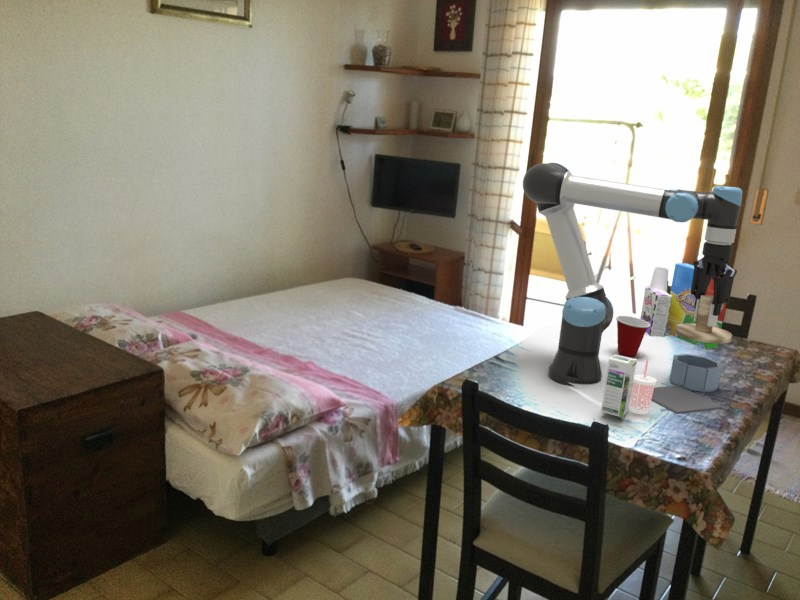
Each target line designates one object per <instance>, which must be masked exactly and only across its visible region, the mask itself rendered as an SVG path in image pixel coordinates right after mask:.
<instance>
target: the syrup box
mask: <svg viewBox="0 0 800 600" xmlns="http://www.w3.org/2000/svg"><path fill="white" fill-rule="evenodd" d="M637 363H638V359H636V358H633V357H625V356H621V355H619V354H614V355H612V356H611V357H610V358H609V359H608V363H607V370H606V376H605V377H606V378H605V384H604V390H603V397H602V404H601V409H600V412H601V413H603V414H604V413H605V414H608V415H611V416H616V417H619V418H621V419H623V418H624V417H625V415H627V413H629V411H630V399H631V393H632V387H633V381H634V375H635V374H636V367H637Z"/></svg>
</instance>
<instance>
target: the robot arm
mask: <svg viewBox="0 0 800 600" xmlns="http://www.w3.org/2000/svg"><path fill="white" fill-rule="evenodd" d="M522 188H523V191H524V194H525V196H526V198H528V199H529V200H530V201H532V202H534V203H535V204H536V206H537V207H536V208H537V210H538V213H539V214H541V215H542V216H544V217H545V219H546V221H547V226H548V229H549V232H550V235H551V239H552V241H553V245H554V249H555V250H556V253H557V257H558V261H559V265H560V267H561V270H562V274H563V276H564V279H565V283H566V287H567V289H568V292H567V294H566V296H565V299H566V300H565V302H564V304H563V305H564V306H563V308H562V313H561V314H562V317H561V322H560V323H561V324H560V330H559V331H560V332H559V339H558V347H557V351H556V352H555V356H554V358H553V360H552V362H551V363H550V365H549V366H548V368H549V369H548V376H549V378H551V379H552V380H554V381H556V382H558V383H561V384H563V385H567V386H571V387H574V385H575V384H577V385H594V384H598V383H601V381H602V377H603V374H602V370H601V363H600V358H599V355H600V349H601V341H602V335H603V333H604V332H605V330H607V329H608V327H610V325H611V324H612V321H613V318H614V307H613V304H612V302H611V300H610V299H609V298H608V297H607V294H606V292H605V288H604V286H603V285H602V284H600V283H598V282H597V281H596V277H595V275H594V270H593V268H592V264H591V261H590V258H589V255H588V251H587V248H586V245H585V242H584V238H583V235H582V231H581V228H580V225H579V222H578V219H577V216H576V212H575V210H574V206H575V205H580V206H581V205H582V206H588V207H594V208H601V209H607V210H613V211H618V212H626V213H630V214H638V215H643V216H649V217H655V218H661V219H667V220H671V221H673V222H675V223H685V222H689V221H690V220H692V219H696V220H707V223H706V224H707V225H706V230H705V235H704V242H703V246H702V247H703V248H702V251H701V253H702V255H703V257H702V259H701V260H694V261H693V266H694V274H693V281H692V287H691V295H694V296H695V298H696V300H695V306H694V308H695V315H694V321H695V322H697V316H698V310H699V304H700V298H701V295H705V294H706V292H707V289H708V286H709V284H710V281H711V278H712V279H713V281H714V302H712V303H711V305H710V311H709V316H708V322H707V326H716V324H717V319H718V316H719V315H720V312H721V306H722V304H726V305H728V304H729V303H730V299H731V293H732V289H733V284H734V280H735V279H734V278H735V277H736V275H737V273H738V270H737V269H736V268H735V269H733V268H732V267H731V266H730V259H731V258H732V256H733V250H734V245H733V244H734V243H735V239H736V233H737V228H738V223H739V218H740V213H741V207H742V201H743V200H742V199H743V190H742V188H740V187H737V186H736V187H735V186H727V185H726V186H724V185H715V186H714V187H713V188H712V191H711V192H709V191H708V192H707V191H706V192H704V191H694V190H685V189H664V188H663V189H662V188H657V187H649V186H645V185H643V186H642V185H636V184H630V183H624V182H617V181H611V180H610V181H609V180H604V179H597V178H592V177H585V176H577V175H573V174H572V172H571V171H570V170H569V169H568V168H567V167H565V166H564V165H562V164H561V163H557V162H549V163H538V164H535V165H533V166H531V167H530V168H529V169H528V170H527V171H526V172H525V174H524V176H523V179H522ZM695 290H696V291H695ZM718 299H719V300H718Z"/></svg>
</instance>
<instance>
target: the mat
mask: <svg viewBox="0 0 800 600" xmlns="http://www.w3.org/2000/svg"><path fill="white" fill-rule="evenodd" d="M651 402H654V403H655V404H658V405H659V406H661V407H663V408H665V409H667V410H669V411H670V412H673V413H675V414H676V415H677V414H678V415H679V414H688V413H695V412H696V413H697V412H702V411H703V412H704V411H712V410H720V409H721V410H722V409H723V406H722V405H720V404H718V403H716V402H714V401H711V400H709V399H707V398H705V397H703V396H702V395H699V394H697V393H695V392H694V391H692V390H688V389H685V388H682V387H680V386H678V385H666V386H657V387H654V391H653V395H652V399H651Z"/></svg>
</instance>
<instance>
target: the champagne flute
mask: <svg viewBox="0 0 800 600" xmlns="http://www.w3.org/2000/svg"><path fill="white" fill-rule="evenodd" d="M668 278H669V268H665V267H660V266H659V267H657V266H655V267H654V269H653V274H652V277H651V279H650V280H651V282H650V285H649V287H650V288H652V289H656V290H663V291H666V292H667V293H668V280H669V279H668Z"/></svg>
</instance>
